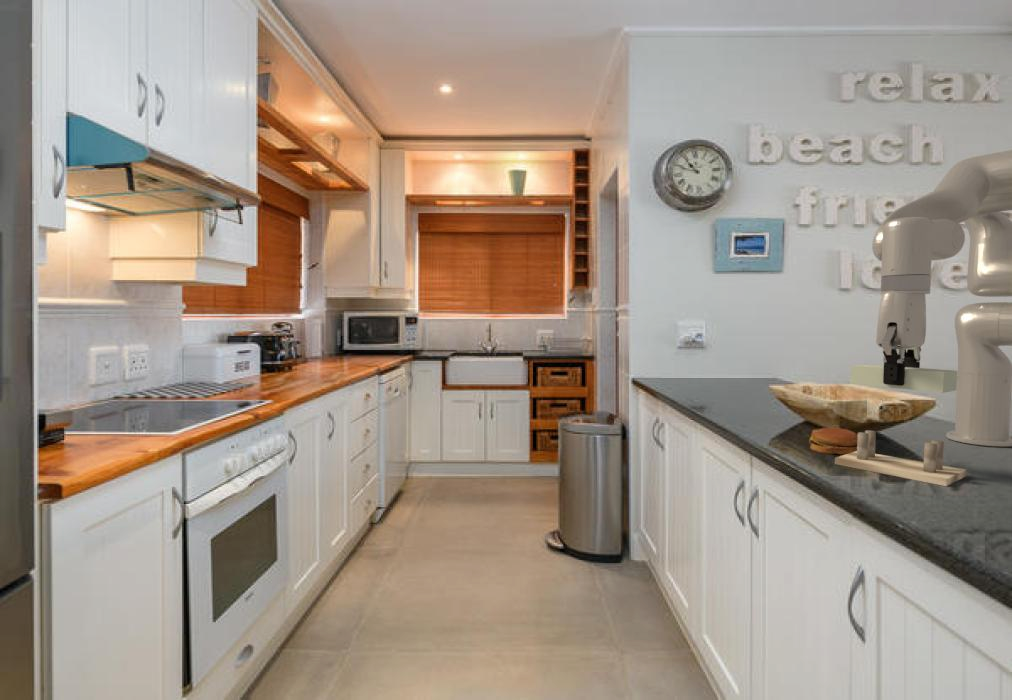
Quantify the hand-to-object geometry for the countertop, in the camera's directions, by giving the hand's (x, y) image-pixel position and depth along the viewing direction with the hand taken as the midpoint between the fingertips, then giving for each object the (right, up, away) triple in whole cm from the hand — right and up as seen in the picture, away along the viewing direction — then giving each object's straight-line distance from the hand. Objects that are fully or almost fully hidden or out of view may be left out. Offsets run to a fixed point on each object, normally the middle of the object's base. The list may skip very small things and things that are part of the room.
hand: (901, 382), depth 106 cm
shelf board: (0, -1, 0) cm, 1 cm away
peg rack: (0, -16, +1) cm, 16 cm away
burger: (-3, -16, +17) cm, 23 cm away
